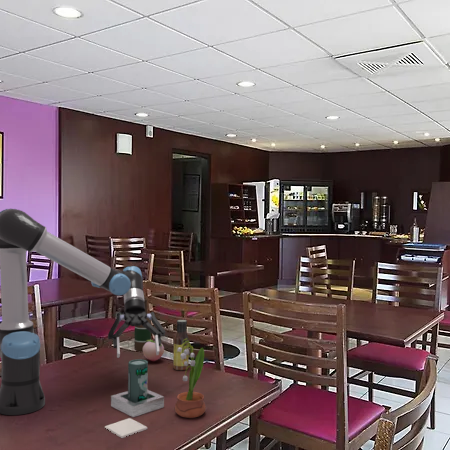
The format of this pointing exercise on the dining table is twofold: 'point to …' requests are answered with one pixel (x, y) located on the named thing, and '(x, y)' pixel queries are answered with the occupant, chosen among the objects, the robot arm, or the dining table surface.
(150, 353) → the decorative fruit
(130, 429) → the tile
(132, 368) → the can
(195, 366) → the potted flower
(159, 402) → the collar
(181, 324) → the sauce bottle
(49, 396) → the dining table surface
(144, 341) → the beer bottle
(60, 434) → the dining table surface
